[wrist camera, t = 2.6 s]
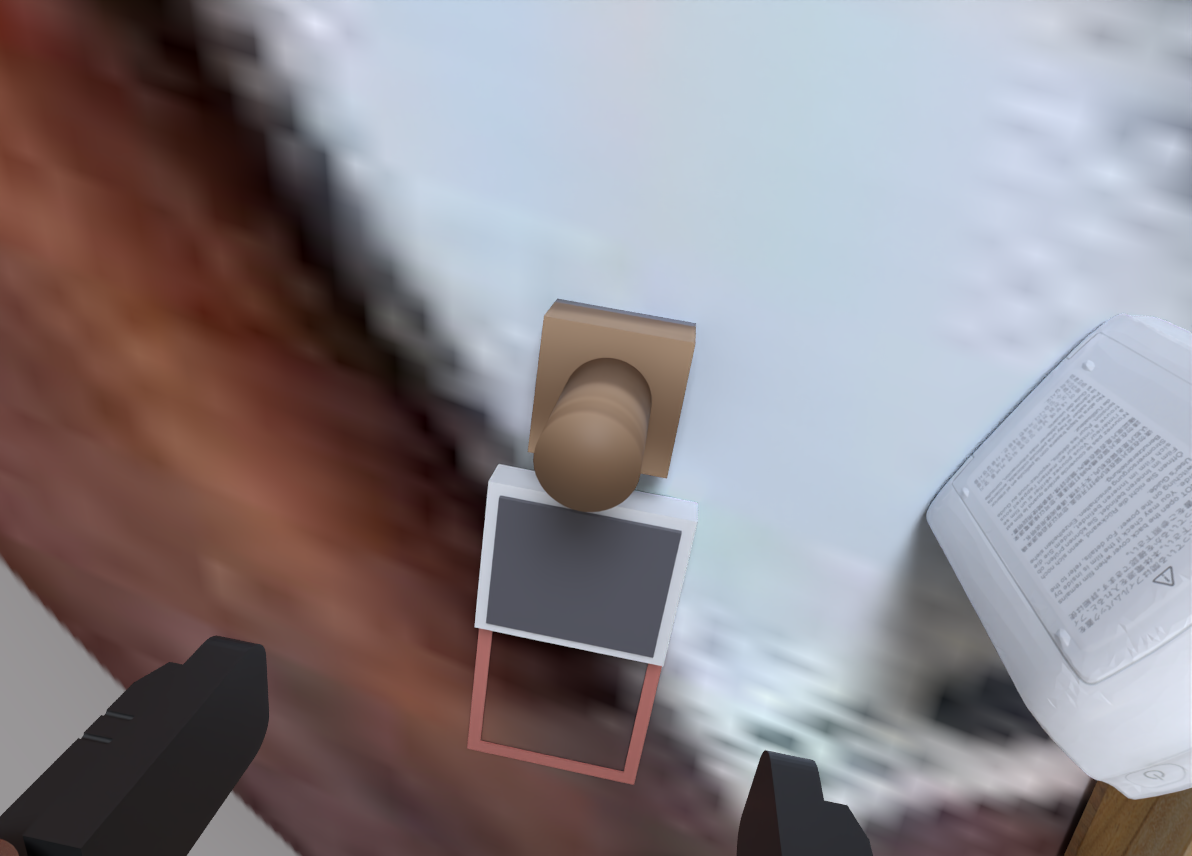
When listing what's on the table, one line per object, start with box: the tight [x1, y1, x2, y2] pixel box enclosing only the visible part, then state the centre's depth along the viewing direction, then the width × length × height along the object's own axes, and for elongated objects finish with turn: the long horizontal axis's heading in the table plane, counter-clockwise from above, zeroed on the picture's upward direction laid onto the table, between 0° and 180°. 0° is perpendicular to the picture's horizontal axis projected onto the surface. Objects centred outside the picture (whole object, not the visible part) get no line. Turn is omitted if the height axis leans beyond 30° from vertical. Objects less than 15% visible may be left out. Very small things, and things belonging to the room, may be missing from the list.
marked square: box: [467, 628, 662, 785], centre depth 33 cm, size 8×8×1 cm
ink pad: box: [475, 464, 698, 666], centre depth 29 cm, size 7×8×2 cm
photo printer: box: [926, 313, 1192, 800], centre depth 20 cm, size 10×4×12 cm, turn 150°
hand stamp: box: [528, 299, 696, 512], centre depth 23 cm, size 5×5×8 cm
